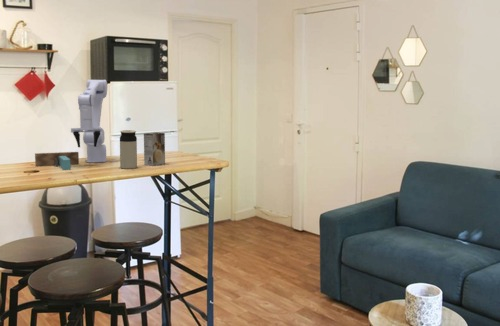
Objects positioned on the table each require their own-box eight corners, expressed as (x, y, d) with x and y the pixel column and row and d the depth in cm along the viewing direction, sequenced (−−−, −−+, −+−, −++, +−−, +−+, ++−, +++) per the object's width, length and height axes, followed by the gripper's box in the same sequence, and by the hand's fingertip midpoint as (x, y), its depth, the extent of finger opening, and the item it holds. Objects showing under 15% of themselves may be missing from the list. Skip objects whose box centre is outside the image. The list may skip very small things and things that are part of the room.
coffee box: (156, 162, 269) (155, 132, 267) (165, 164, 266) (165, 132, 263) (143, 164, 261) (143, 133, 259) (153, 166, 258) (152, 134, 256)
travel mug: (120, 169, 246) (119, 131, 244) (120, 166, 254) (119, 130, 251) (137, 168, 248) (137, 131, 246) (136, 166, 256) (136, 130, 253)
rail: (65, 165, 255) (65, 155, 254) (70, 170, 242) (70, 159, 242) (59, 165, 254) (58, 155, 253) (63, 170, 241) (63, 159, 240)
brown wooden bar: (77, 163, 261) (77, 151, 260) (80, 165, 255) (79, 153, 255) (35, 165, 252) (34, 153, 251) (36, 167, 246) (36, 155, 245)
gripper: (72, 119, 244) (73, 148, 246) (103, 119, 251) (103, 147, 253) (69, 118, 250) (70, 146, 252) (100, 118, 257) (100, 145, 259)
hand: (87, 146), depth 253 cm, fingers open, 7 cm apart
